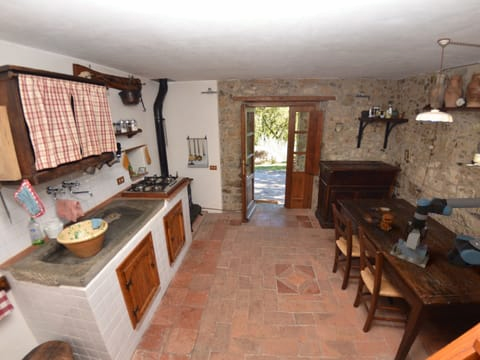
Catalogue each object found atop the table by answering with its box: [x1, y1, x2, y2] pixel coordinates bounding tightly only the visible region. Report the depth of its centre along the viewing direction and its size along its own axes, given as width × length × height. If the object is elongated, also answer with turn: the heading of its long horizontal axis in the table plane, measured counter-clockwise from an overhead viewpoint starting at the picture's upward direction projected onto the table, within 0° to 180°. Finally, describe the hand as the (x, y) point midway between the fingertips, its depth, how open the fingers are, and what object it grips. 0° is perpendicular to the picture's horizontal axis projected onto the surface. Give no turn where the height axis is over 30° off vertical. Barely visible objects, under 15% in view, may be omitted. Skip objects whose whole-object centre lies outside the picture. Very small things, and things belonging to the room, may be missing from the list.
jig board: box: [389, 242, 430, 269], centre depth 177 cm, size 23×16×6 cm
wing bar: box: [406, 228, 420, 249], centre depth 173 cm, size 6×14×10 cm, turn 131°
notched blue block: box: [397, 238, 428, 262], centre depth 176 cm, size 18×7×13 cm, turn 49°
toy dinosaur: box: [379, 213, 394, 232], centre depth 216 cm, size 11×11×18 cm
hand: (412, 243), depth 174 cm, fingers closed on wing bar, 6 cm apart
